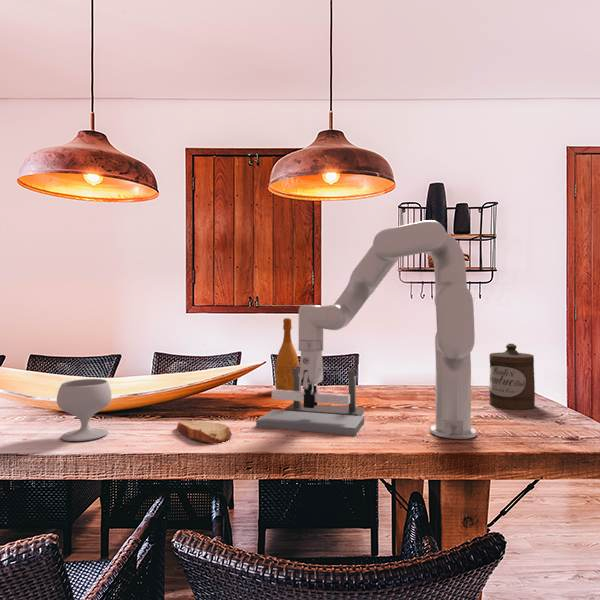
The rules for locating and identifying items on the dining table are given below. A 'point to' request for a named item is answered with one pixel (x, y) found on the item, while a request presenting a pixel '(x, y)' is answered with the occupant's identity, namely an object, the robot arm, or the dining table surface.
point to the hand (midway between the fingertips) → (310, 406)
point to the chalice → (84, 405)
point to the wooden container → (512, 379)
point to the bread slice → (204, 431)
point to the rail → (318, 396)
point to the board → (311, 422)
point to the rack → (328, 409)
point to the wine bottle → (286, 360)
